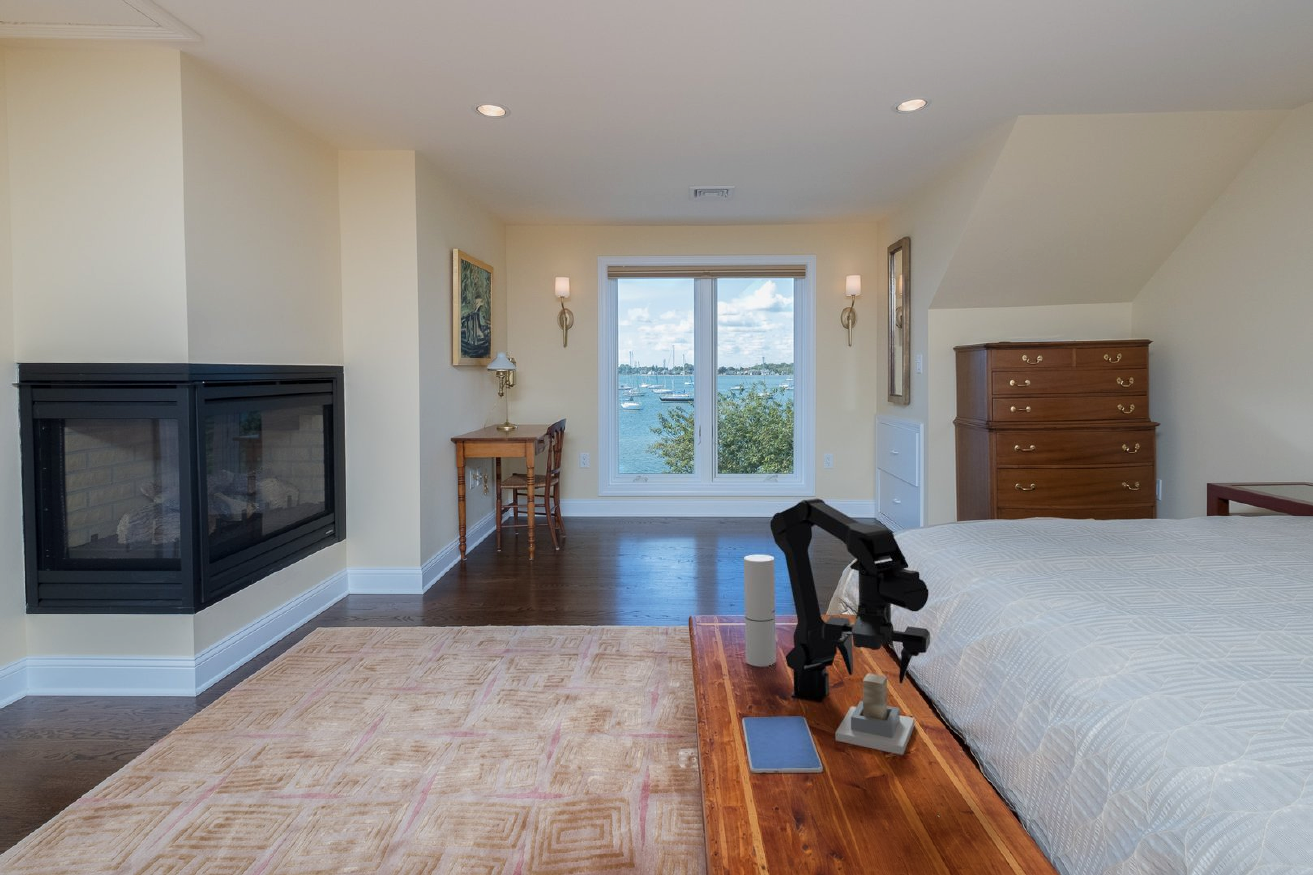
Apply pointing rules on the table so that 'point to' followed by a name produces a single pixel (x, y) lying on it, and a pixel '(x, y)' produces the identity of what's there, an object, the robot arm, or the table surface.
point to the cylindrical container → (760, 610)
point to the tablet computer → (780, 745)
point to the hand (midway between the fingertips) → (875, 678)
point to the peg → (875, 696)
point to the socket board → (876, 730)
